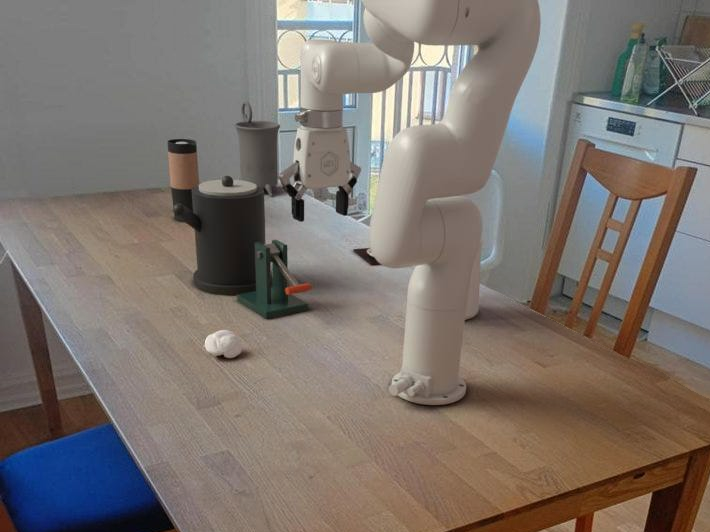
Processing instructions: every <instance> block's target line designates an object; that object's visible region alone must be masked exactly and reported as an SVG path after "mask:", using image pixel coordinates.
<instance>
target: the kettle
mask: <svg viewBox="0 0 710 532" xmlns="http://www.w3.org/2000/svg"><path fill="white" fill-rule="evenodd" d="M264 189H265V188H261V187H259V186H257V185H255V184H254V183H251V182H247V181H241V180H240V179H234V178H232V177H231V176H230V175H224V176H223V177H222V179H214V180H207V181H203V182H201V183H199V185H198V186H195V187H193V188H192V202H193V212H192V211H191V210H189V209H188V208H187V207H185V206H184V205H182V204H176V205H175V206H174V207H173V206H172V212H173V215H174V214H175V215H176V216H177V217H179V218H180V219H181V220H183V221H184V222H183V223H185V224H186V225H188V226H189V227H191V228H192V229H193V230H194V241H195V242H194V243H195V253H196V254H195V255H196V267H197V269H196V270H195V271H193V274H192V277H193V284H194V287H195V288H196V289H199V290H200V291H202V292H205V293H209V294H214V295H221V296H237V295H238V294H243V293H248V292H253V291H256V268H255V243H257V242H259V243H261V244H263V245H265V244H267V243H266V210H265V209H266V208H265V190H264Z"/></svg>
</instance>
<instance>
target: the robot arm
mask: <svg viewBox="0 0 710 532" xmlns="http://www.w3.org/2000/svg"><path fill="white" fill-rule="evenodd" d="M360 1H361V2H362V5H363V6H364V11H363V16H362V17H363V27H364V30H365V33H366V35H367V37H368V38H369V40H370V42H339V41H336V40H330V39H309V40H305V41H304V42H303V43H302V44H301V47H300V108H299V112H298V113H295V115H294V121H295V122H296V123H299V125H300V126H298V127H297V130H296V135H295V141H294V148H293V161H292V162H293V163H292V164H291V165H290V166H288V167H287V168H286V169H284V170H282V171H281V172H280V173H278V180H279V182H280V184H281V186H282V189H283V190H284V191H285V192H286V193H287V195H288V196H289V197H290V198H291V199H290V200H291V202H290V203H291V206H290V207H291V215H292V219H294V220H295V221H297V222H300V223H302V222H304V221H305V200H304V199H303V196H304V195H305V193H306V192H307V190H319V189H328V188H337V189H338V190H337V191H336V193H335V213H337V214H339V215H340V216H343V217H347V216H348V211H349V200H350V199H349V197H350V194H352V192H353V188H354V187H355V185H356V184H357V183H358V179H359V176H360V175H361V172H362V167H361V166H359V165H357V164H356V163H354V162H352V161H351V153H350V141H349V135H348V130H347V127H346V126H343V122H344V121H343V120H344V119H343V117H344V116H343V115H344V95H351V94H378V93H381V92H384V91H386V90H388V89H390V88H391V87H393V86H394V85H395V84H396V83H397V82H399V81H400V80H401V79H402V78H403V77H404V76H405V75H407V73H408V72H409V70H410V67H411V65H412V62H413V58H414V53H415V43H416V44H420V45H423V46H435V47H436V46H477V47H478V50H477V52H476V54H474V56H473V57H472V58H470V60H469V61H468V62H467V63H466V65H465V66H464V67H463V69H462V70H461V71H460V73H459V74H458V76H457V78H456V79H455V82H454V83H453V86H452V88H451V91H450V93H449V98H448V103H447V106H446V109H445V112H444V115H443V116H442V118H441V120H439V122H437V123H434V124H433V123H432V124H422V125H421V124H418V125H413V126H407V127H406V128H404V129H401V130H400V131H398V132H397V133H396V134H395V136H394V137H393V138H392V139H391V141H390V143H389V144H388V146H387V148H386V150H385V153H384V157H383V160H382V164H381V168H380V172H379V173H380V174H379V178H378V182H377V183H378V184H377V187H376V192H375V196H374V202H373V206H372V212H371V216H370V221H369V232H368V239H369V240H368V241H369V246H370V247H369V248H371V250H372V253H373V255H374V257H375V259H376V260H377V261H378V262H379V263H380V264H381V266H383V267H385V268H388V269H404V268H405V269H406V268H411V267H414V269H413V271H412V273H411V276H410V279H409V282H408V286H407V294H406V306H405V307H406V308H405V322H404V323H405V324H404V335H403V347H402V349H403V350H402V362H401V363H402V364H401V369H400V371H399V372H398V373H396V374H394V376H392V378H391V384H390V385H389V386H388V393H389V394H390V396H393V397H397V396H398V397H399V398H401V399H403V400H405V401H408V402H411V403H414V404H417V405H424V406H425V405H426V406H443V405H449V404H453V403H455V402H458V401H460V400H461V399H463V398H464V396H465V395H466V392H467V384H466V381H464V379H463V378H462V377H460V375H459V374H460V373H459V372H460V365H461V364H460V363H461V356H462V355H461V354H462V348H463V338H464V330H465V322H466V320H465V314H466V305H467V298H468V290H469V283H470V277H471V272H472V267H473V263H474V260H475V257H476V254H477V250H478V247H479V244H480V240H481V239H482V234H483V217H482V215H481V211H480V209H479V208H478V206H477V204H476V203H475V202H474V201H472V200H471V199H470V198H468V197H466V195H471V194H474V193H477V192H480V191H481V190H482V189H483V188H484V187H485V186H486V184H487V183H488V182H489V179H490V177H491V175H492V172H493V169H494V166H495V163H496V160H497V157H498V154H499V151H500V148H501V145H502V142H503V140H504V135H505V133H506V129H507V127H508V124H509V120H510V116H511V113H512V110H513V108H514V104H515V101H516V99H517V96H518V95H519V92H520V90H521V88H522V85H523V83H524V81H525V79H526V77H527V74H528V72H529V70H530V68H531V66H532V64H533V62H534V61H533V60H534V58H535V55H536V52H537V49H538V45H539V41H540V35H541V21H542V20H541V9H540V4H539V0H360ZM292 177H293V182H294V183H293V185H292V184H291V178H292Z"/></svg>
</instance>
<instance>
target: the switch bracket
mask: <svg viewBox="0 0 710 532" xmlns="http://www.w3.org/2000/svg"><path fill="white" fill-rule="evenodd" d="M271 243H274V244H275V246H276V247H277V248H278V249H279V251H280V255H279V258H280V259H281V261H282V262H283V263H284V265H285V266H286V267H287V269H288V270H289V268H288V266H289V265H288V264H289V263H288V244H286V243H284V242H282V241H280V240H278V239H272V240H271ZM271 263H272V266H271ZM271 267H272V268H271ZM255 268H256V291H253V292H248V293H243V294H238V295H236V301H237V303H240V304H241V305H243V306H244V307H246V308H248V309H250V310H251V311H253V312H254V313H256V314H258V315H260V316H261V317H263V318H264V319H266V320H269V319H272V318H277V317H282V316H286V315H291V314H295V313H300V312H305V311H308V310H309V303H308V302H306V301H304V300H303V299H301V298H300V297H297V296H296V295H295V294H291V295H287V294H286V292H285V289H286V288H287V287H289V282H288V281H287V279H286V278H285V277H284V275H283V274H282V273H281V271H280V270H279V269H278V267H277V266H276V265H275V263H274V262H270V248H269V247H267V246H265V245H263V244H261V243H259V242H257V243H255ZM271 269H272V271H271ZM271 272H272V273H271Z"/></svg>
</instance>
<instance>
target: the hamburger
mask: <svg viewBox="0 0 710 532" xmlns="http://www.w3.org/2000/svg"><path fill="white" fill-rule="evenodd" d="M352 251H353V252H354V253H355V254H356V255H358V256H359V257H360V258H361V259H363V260H364V262H366V263H368V264H369V265H370V266H378V265H379V266H380V265H381V264H380V263H379V262H378V261H377V260H376V259H375V257H374V255H373V253H372V250H371V247H363V248H353V250H352ZM381 266H382V265H381Z"/></svg>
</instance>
